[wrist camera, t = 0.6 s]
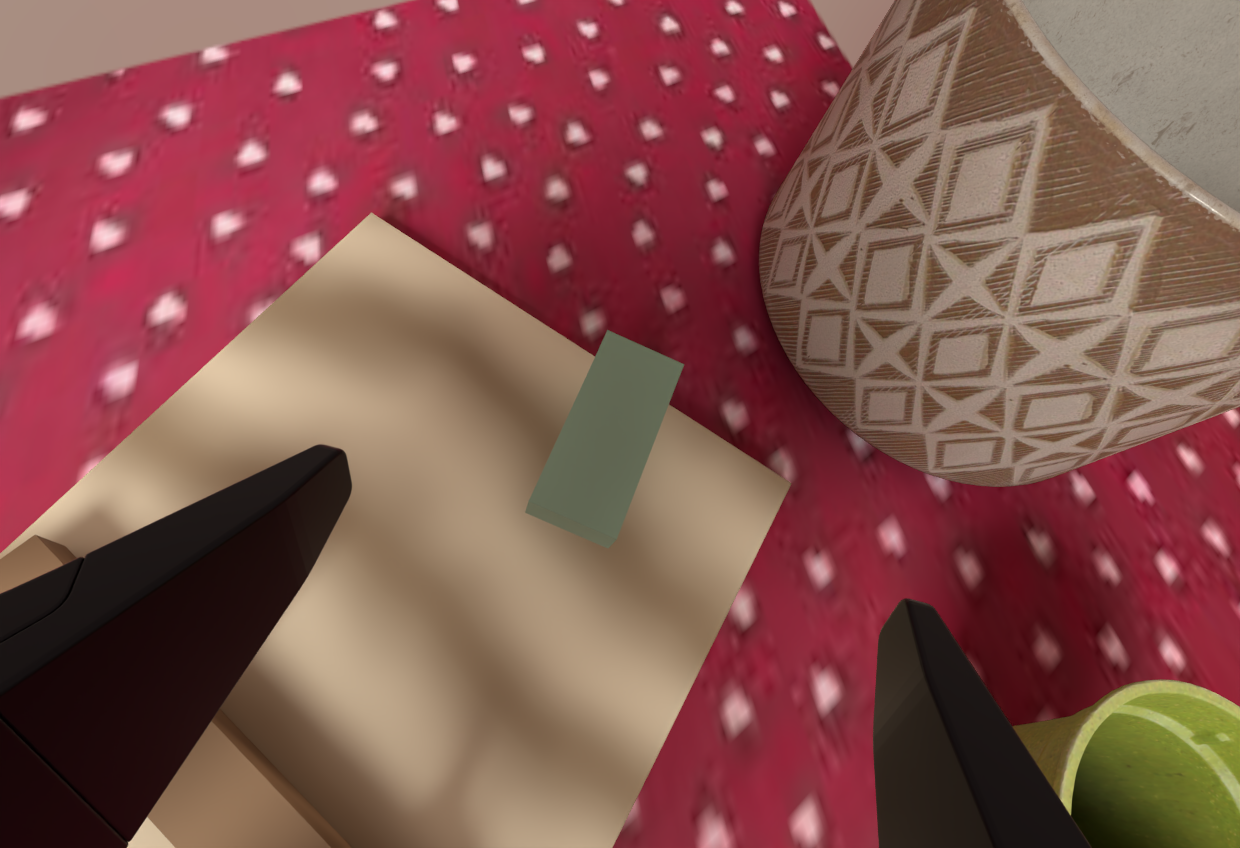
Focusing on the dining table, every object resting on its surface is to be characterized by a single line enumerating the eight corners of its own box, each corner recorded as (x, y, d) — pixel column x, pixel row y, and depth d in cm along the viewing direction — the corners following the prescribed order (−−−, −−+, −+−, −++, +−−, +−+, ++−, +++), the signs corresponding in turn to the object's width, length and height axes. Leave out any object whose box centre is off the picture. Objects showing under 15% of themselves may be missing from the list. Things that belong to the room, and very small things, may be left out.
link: (496, 938, 19) (509, 1046, 13) (375, 1102, 17) (328, 1314, 11) (96, 523, 21) (-51, 453, 15) (-51, 630, 19) (-286, 599, 13)
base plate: (429, 1192, 18) (427, 1223, 17) (-190, 761, 18) (-230, 764, 17) (778, 491, 28) (791, 483, 27) (374, 230, 29) (371, 212, 28)
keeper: (588, 569, 25) (616, 539, 21) (516, 538, 25) (528, 501, 20) (647, 420, 28) (683, 364, 24) (583, 391, 28) (607, 329, 23)
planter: (781, 122, 37) (990, -260, 22) (1081, 246, 39) (1465, -35, 24) (703, 412, 29) (953, 112, 14) (1089, 556, 30) (1682, 421, 16)
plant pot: (835, 721, 25) (1003, 732, 17) (1025, 660, 28) (1245, 645, 20) (932, 1018, 22) (1190, 1195, 14) (1136, 917, 25) (1447, 1019, 17)
